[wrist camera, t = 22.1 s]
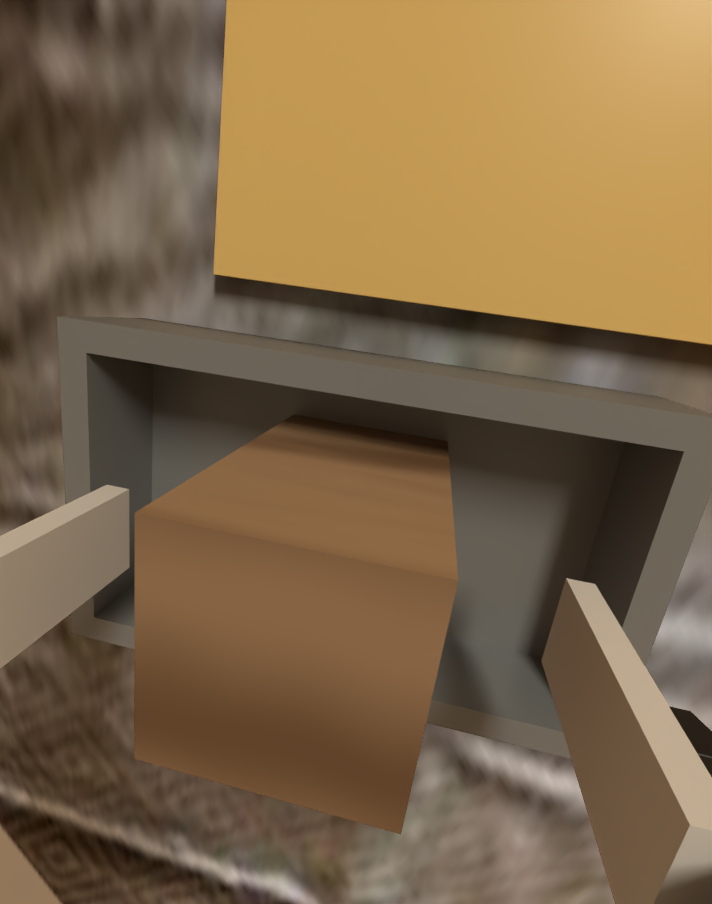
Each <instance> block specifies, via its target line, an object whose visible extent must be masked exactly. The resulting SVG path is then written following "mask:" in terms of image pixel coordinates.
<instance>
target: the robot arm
mask: <svg viewBox="0 0 712 904" xmlns="http://www.w3.org/2000/svg"><path fill="white" fill-rule="evenodd" d="M129 567H130V563H129V489H126V488H121V487H116V486H111V485H105V486H103V487H101V488H99V489H97V490H95V491H93V492H91V493H88V494H86V495H84V496H82V497H80V498H78V499H76V500H74V501H72V502H70V503H68V504H66V505H63V506H61V507H59V508H57V509H55V510H53V511H51V512H49V513H47V514H45V515H43V516H41V517H39V518H36V519H34V520H32V521H30V522H28V523H26V524H24V525H22V526H20V527H18V528H16V529H14V530H11V531H9V532H7V533H5V534H3V535H1V536H0V668H2V667H3V666H4V665H5V664H7V663H8V662H9V661H11V660H12V659H13V658H14V657H16V656H17V655H18V654H20V653H21V652H22V651H23V650H25V649H26V648H27V647H28V646H30V645H31V644H32V643H34V642H35V641H36V640H37V639H39V638H40V637H41V636H42V635H44V634H45V633H46V632H48V631H49V630H50V629H51V628H53V627H54V626H55V625H57V624H58V623H59V622H60V621H62V620H63V619H64V618H65V617H67V616H68V615H69V614H71V613H72V612H73V611H74V610H76V609H77V608H78V607H80V606H81V605H82V604H83V603H85V602H86V601H87V600H88V599H90V598H91V597H92V596H94V595H95V594H96V593H97V592H99V591H100V590H101V589H103V588H104V587H105V586H106V585H108V584H109V583H110V582H111V581H113V580H114V579H115V578H117V577H118V576H119V575H120V574H122V573H123V572H124V571H125V570H127V569H128V568H129ZM541 661H542V664H543V668H544V671H545V674H546V678H547V681H548V684H549V687H550V691H551V694H552V697H553V701H554V704H555V707H556V710H557V714H558V717H559V720H560V724H561V727H562V730H563V733H564V737H565V740H566V743H567V747H568V750H569V753H570V756H571V760H572V763H573V766H574V769H575V773H576V776H577V779H578V783H579V786H580V789H581V792H582V796H583V799H584V802H585V806H586V809H587V812H588V815H589V819H590V822H591V825H592V829H593V832H594V835H595V838H596V842H597V845H598V848H599V852H600V855H601V858H602V861H603V865H604V868H605V871H606V875H607V878H608V881H609V884H610V888H611V891H612V894H613V898H614V901H615V904H712V731H711V730H710V729H709V728H707V727H706V726H705V725H704V724H703V723H702V722H701V721H700V720H699V719H698V718H697V717H696V716H695V715H694V714H693V713H692V712H691V711H687V710H682V709H678V708H674V707H669V706H668V704H667V702H666V701H665V699H664V697H663V696H662V694H661V692H660V691H659V689H658V687H657V686H656V684H655V682H654V681H653V679H652V677H651V676H650V674H649V673H648V671H647V669H646V668H645V666H644V664H643V663H642V661H641V659H640V658H639V656H638V654H637V653H636V651H635V649H634V648H633V646H632V644H631V643H630V641H629V639H628V638H627V636H626V634H625V633H624V631H623V629H622V628H621V626H620V624H619V623H618V621H617V619H616V618H615V616H614V614H613V613H612V611H611V609H610V608H609V606H608V604H607V603H606V601H605V599H604V598H603V596H602V594H601V593H600V591H599V589H598V588H597V586H596V585H595V584H593V583H588V582H583V581H578V580H573V579H568V578H566V580H565V584H564V587H563V590H562V594H561V597H560V600H559V604H558V607H557V610H556V614H555V617H554V620H553V624H552V627H551V630H550V634H549V637H548V640H547V644H546V647H545V650H544V654H543V657H542V660H541Z"/></svg>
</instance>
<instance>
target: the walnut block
mask: <svg viewBox="0 0 712 904" xmlns="http://www.w3.org/2000/svg"><path fill="white" fill-rule="evenodd" d="M457 584H458V571H457V558H456V545H455V531H454V518H453V504H452V491H451V478H450V464H449V451H448V441H444V440H438V439H432V438H426V437H421V436H415V435H409V434H403V433H398V432H392V431H386V430H380V429H375V428H369V427H363V426H357V425H351V424H346V423H340V422H334V421H328V420H323V419H317V418H311V417H305V416H300V415H292V416H291V417H289V418H287V419H286V420H284V421H283V422H281V423H279V424H278V425H276V426H275V427H273V428H271V429H270V430H268V431H266V432H265V433H263V434H262V435H260V436H258V437H257V438H255V439H253V440H252V441H250V442H249V443H247V444H245V445H244V446H242V447H240V448H239V449H237V450H236V451H234V452H232V453H231V454H229V455H227V456H226V457H224V458H223V459H221V460H219V461H218V462H216V463H215V464H213V465H211V466H210V467H208V468H206V469H205V470H203V471H202V472H200V473H198V474H197V475H195V476H193V477H192V478H190V479H189V480H187V481H185V482H184V483H182V484H180V485H179V486H177V487H176V488H174V489H172V490H171V491H169V492H167V493H166V494H164V495H163V496H161V497H159V498H158V499H156V500H154V501H153V502H151V503H150V504H148V505H146V506H145V507H143V508H142V509H140V510H138V511H137V512H135V688H134V759H137V760H141V761H144V762H148V763H151V764H155V765H159V766H162V767H166V768H169V769H173V770H176V771H180V772H183V773H187V774H190V775H194V776H197V777H201V778H204V779H208V780H211V781H215V782H218V783H222V784H226V785H229V786H233V787H236V788H240V789H243V790H247V791H250V792H254V793H257V794H261V795H264V796H268V797H271V798H275V799H278V800H282V801H285V802H289V803H293V804H296V805H300V806H303V807H307V808H310V809H314V810H317V811H321V812H324V813H328V814H331V815H335V816H338V817H342V818H345V819H349V820H352V821H356V822H360V823H363V824H367V825H370V826H374V827H377V828H381V829H384V830H388V831H391V832H395V833H398V834H401V831H402V827H403V822H404V818H405V814H406V809H407V805H408V800H409V796H410V791H411V787H412V783H413V778H414V774H415V769H416V765H417V761H418V756H419V752H420V747H421V743H422V739H423V734H424V730H425V725H426V721H427V717H428V712H429V708H430V703H431V699H432V694H433V690H434V686H435V681H436V677H437V672H438V668H439V664H440V659H441V655H442V650H443V646H444V642H445V637H446V633H447V628H448V624H449V619H450V615H451V611H452V606H453V602H454V597H455V593H456V589H457Z"/></svg>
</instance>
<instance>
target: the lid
mask: <svg viewBox="0 0 712 904" xmlns="http://www.w3.org/2000/svg"><path fill="white" fill-rule="evenodd" d="M213 274H215V275H220V276H224V277H231V278H238V279H245V280H253V281H260V282H267V283H274V284H281V285H288V286H295V287H302V288H309V289H316V290H323V291H330V292H337V293H344V294H351V295H358V296H365V297H373V298H380V299H387V300H394V301H401V302H408V303H415V304H422V305H429V306H436V307H443V308H450V309H457V310H464V311H471V312H478V313H485V314H493V315H500V316H507V317H514V318H521V319H528V320H535V321H542V322H549V323H556V324H563V325H570V326H577V327H584V328H591V329H598V330H605V331H613V332H620V333H627V334H634V335H641V336H648V337H655V338H662V339H669V340H676V341H683V342H690V343H697V344H704V345H711V346H712V0H227V7H226V27H225V48H224V68H223V89H222V109H221V130H220V150H219V171H218V191H217V212H216V232H215V253H214V273H213Z"/></svg>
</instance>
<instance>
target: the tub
mask: <svg viewBox="0 0 712 904" xmlns="http://www.w3.org/2000/svg"><path fill="white" fill-rule="evenodd" d="M57 331H58V353H59V375H60V396H61V418H62V440H63V461H64V483H65V505H66V504H68V503H70V502H72V501H74V500H76V499H78V498H80V497H82V496H84V495H86V494H88V493H91V492H93V491H95V490H97V489H99V488H101V487H103V486H105V485H111V486H116V487H121V488H126V489H129V563H130V567H129V568H128V569H127V570H125V571H124V572H123V573H122V574H120V575H119V576H118V577H117V578H115V579H114V580H113V581H111V582H110V583H109V584H108V585H106V586H105V587H104V588H103V589H101V590H100V591H99V592H97V593H96V594H95V595H94V596H92V597H91V598H90V599H88V600H87V601H86V602H85V603H83V604H82V605H81V606H80V607H78V608H77V609H76V610H74V611H73V612H72V613H71V634H75V635H79V636H83V637H87V638H91V639H95V640H99V641H103V642H107V643H111V644H115V645H119V646H123V647H127V648H131V649H135V512H137V511H138V510H140V509H142V508H143V507H145V506H146V505H148V504H150V503H151V502H153V501H154V500H156V499H158V498H159V497H161V496H163V495H164V494H166V493H167V492H169V491H171V490H172V489H174V488H176V487H177V486H179V485H180V484H182V483H184V482H185V481H187V480H189V479H190V478H192V477H193V476H195V475H197V474H198V473H200V472H202V471H203V470H205V469H206V468H208V467H210V466H211V465H213V464H215V463H216V462H218V461H219V460H221V459H223V458H224V457H226V456H227V455H229V454H231V453H232V452H234V451H236V450H237V449H239V448H240V447H242V446H244V445H245V444H247V443H249V442H250V441H252V440H253V439H255V438H257V437H258V436H260V435H262V434H263V433H265V432H266V431H268V430H270V429H271V428H273V427H275V426H276V425H278V424H279V423H281V422H283V421H284V420H286V419H287V418H289V417H291V416H292V415H300V416H305V417H311V418H317V419H323V420H328V421H334V422H340V423H346V424H351V425H357V426H363V427H369V428H375V429H380V430H386V431H392V432H398V433H403V434H409V435H415V436H421V437H426V438H432V439H438V440H444V441H448V451H449V464H450V478H451V491H452V504H453V518H454V531H455V545H456V558H457V571H458V584H457V589H456V593H455V597H454V602H453V606H452V611H451V615H450V619H449V624H448V628H447V633H446V637H445V642H444V646H443V650H442V655H441V659H440V664H439V668H438V672H437V677H436V681H435V686H434V690H433V694H432V699H431V703H430V708H429V712H428V717H427V721H426V723H430V724H434V725H438V726H442V727H446V728H450V729H454V730H458V731H462V732H466V733H470V734H474V735H478V736H482V737H486V738H490V739H494V740H498V741H502V742H506V743H510V744H514V745H518V746H522V747H526V748H530V749H534V750H538V751H542V752H546V753H550V754H554V755H558V756H562V757H566V758H570V759H571V756H570V753H569V750H568V747H567V743H566V740H565V737H564V733H563V730H562V727H561V724H560V720H559V717H558V714H557V710H556V707H555V704H554V701H553V697H552V694H551V691H550V687H549V684H548V681H547V678H546V674H545V671H544V668H543V664H542V661H541V660H542V657H543V654H544V650H545V647H546V644H547V640H548V637H549V634H550V630H551V627H552V624H553V620H554V617H555V614H556V610H557V607H558V604H559V600H560V597H561V594H562V590H563V587H564V584H565V580H566V578H568V579H573V580H578V581H583V582H588V583H593V584H595V585H596V586H597V588H598V589H599V591H600V593H601V594H602V596H603V598H604V599H605V601H606V603H607V604H608V606H609V608H610V609H611V611H612V613H613V614H614V616H615V618H616V619H617V621H618V623H619V624H620V626H621V628H622V629H623V631H624V633H625V634H626V636H627V638H628V639H629V641H630V643H631V644H632V646H633V648H634V649H635V651H636V653H637V654H638V656H639V658H640V659H641V661H642V663H643V664H644V666H645V665H646V662H647V660H648V657H649V654H650V652H651V649H652V646H653V644H654V641H655V639H656V636H657V633H658V631H659V628H660V625H661V623H662V620H663V617H664V615H665V612H666V610H667V607H668V604H669V602H670V599H671V596H672V594H673V591H674V588H675V586H676V583H677V580H678V578H679V575H680V573H681V570H682V567H683V565H684V562H685V559H686V557H687V554H688V551H689V549H690V546H691V544H692V541H693V538H694V536H695V533H696V530H697V528H698V525H699V522H700V520H701V517H702V515H703V512H704V509H705V507H706V504H707V501H708V499H709V496H710V493H711V491H712V414H711V413H708V412H705V411H702V410H699V409H696V408H693V407H690V406H686V405H683V404H680V403H677V402H674V401H671V400H668V399H665V398H662V397H657V396H651V395H644V394H637V393H631V392H624V391H618V390H611V389H605V388H598V387H591V386H585V385H578V384H572V383H565V382H559V381H552V380H545V379H539V378H532V377H526V376H519V375H512V374H506V373H499V372H493V371H486V370H480V369H473V368H466V367H460V366H453V365H447V364H440V363H434V362H427V361H420V360H414V359H407V358H401V357H394V356H388V355H381V354H374V353H368V352H361V351H355V350H348V349H341V348H335V347H328V346H322V345H315V344H309V343H302V342H295V341H289V340H282V339H276V338H269V337H263V336H256V335H249V334H243V333H236V332H230V331H223V330H217V329H210V328H203V327H197V326H190V325H184V324H177V323H170V322H164V321H157V320H151V319H144V318H109V317H65V316H57Z"/></svg>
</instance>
